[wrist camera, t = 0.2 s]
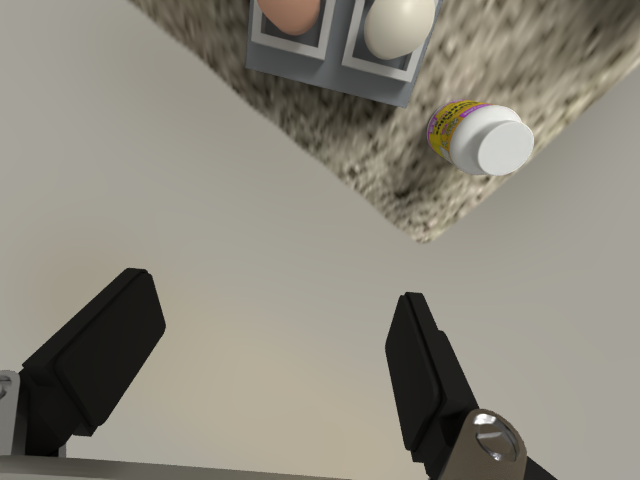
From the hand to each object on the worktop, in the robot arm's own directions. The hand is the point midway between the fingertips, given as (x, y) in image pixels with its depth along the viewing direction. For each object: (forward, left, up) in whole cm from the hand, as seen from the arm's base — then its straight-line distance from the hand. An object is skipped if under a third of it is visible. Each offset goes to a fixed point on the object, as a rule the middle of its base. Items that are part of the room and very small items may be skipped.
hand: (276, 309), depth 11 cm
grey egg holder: (-13, 0, -31) cm, 33 cm away
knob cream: (-13, +5, -24) cm, 28 cm away
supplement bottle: (-6, +17, -31) cm, 36 cm away
